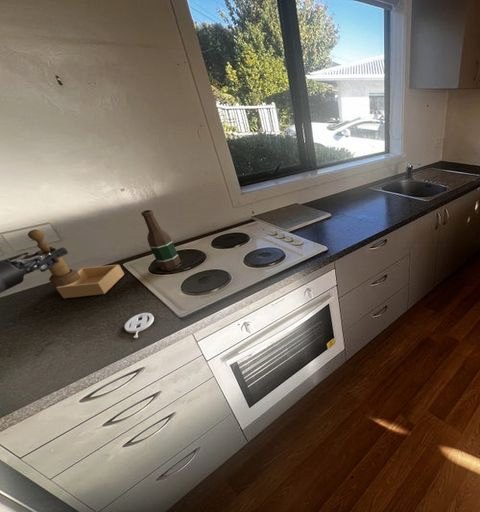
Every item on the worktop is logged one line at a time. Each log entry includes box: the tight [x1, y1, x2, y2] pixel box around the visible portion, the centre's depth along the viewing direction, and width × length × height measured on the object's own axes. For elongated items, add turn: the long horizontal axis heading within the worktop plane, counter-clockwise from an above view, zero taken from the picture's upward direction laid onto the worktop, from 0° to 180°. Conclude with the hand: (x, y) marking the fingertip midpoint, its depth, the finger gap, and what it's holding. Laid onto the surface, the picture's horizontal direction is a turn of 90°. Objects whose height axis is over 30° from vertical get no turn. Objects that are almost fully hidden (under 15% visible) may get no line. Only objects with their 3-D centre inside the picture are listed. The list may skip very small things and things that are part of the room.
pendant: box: [124, 312, 155, 339], centre depth 89 cm, size 7×11×1 cm, turn 29°
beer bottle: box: [140, 209, 182, 272], centre depth 112 cm, size 8×8×24 cm
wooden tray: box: [55, 264, 125, 299], centre depth 106 cm, size 13×13×5 cm
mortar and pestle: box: [27, 229, 80, 288], centre depth 89 cm, size 7×6×18 cm
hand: (58, 249), depth 91 cm, fingers closed on mortar and pestle, 4 cm apart
